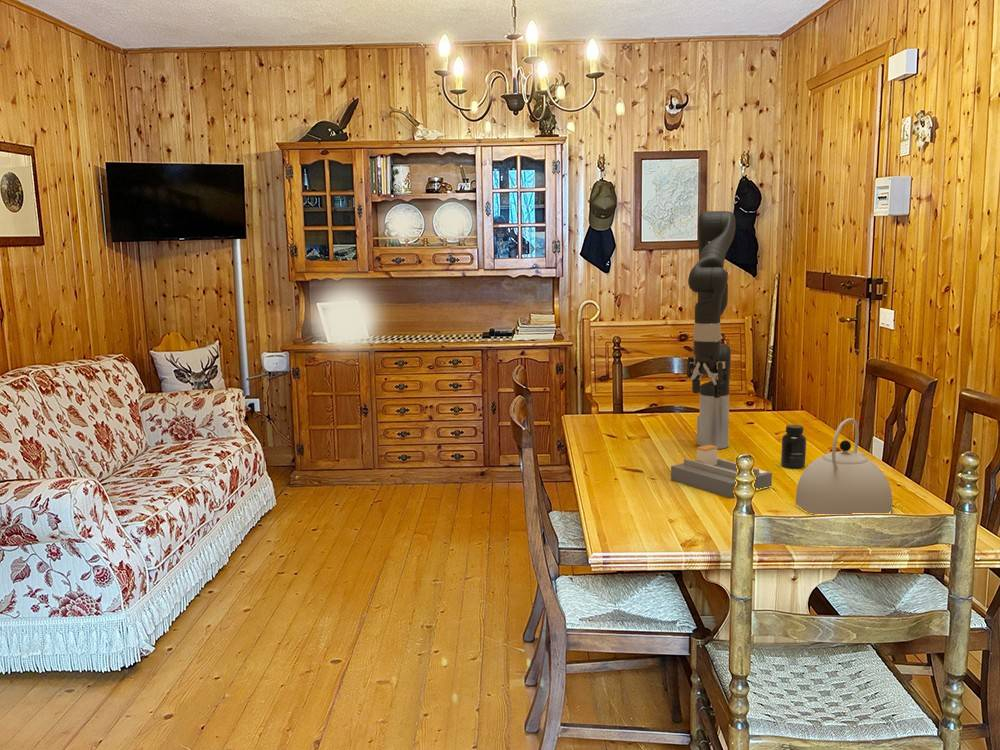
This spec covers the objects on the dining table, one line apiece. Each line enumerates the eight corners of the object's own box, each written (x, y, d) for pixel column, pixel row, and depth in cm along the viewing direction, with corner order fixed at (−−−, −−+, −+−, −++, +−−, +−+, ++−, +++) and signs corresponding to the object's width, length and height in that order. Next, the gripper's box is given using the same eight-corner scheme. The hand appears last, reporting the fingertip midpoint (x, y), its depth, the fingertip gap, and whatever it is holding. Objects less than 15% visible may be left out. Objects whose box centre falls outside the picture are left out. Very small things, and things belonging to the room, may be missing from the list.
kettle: (817, 486, 235) (820, 405, 232) (906, 501, 221) (910, 414, 217) (781, 510, 216) (783, 422, 213) (876, 528, 202) (880, 434, 198)
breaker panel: (671, 479, 245) (671, 460, 244) (710, 469, 253) (710, 451, 252) (731, 498, 227) (731, 477, 226) (771, 487, 235) (772, 467, 234)
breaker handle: (696, 465, 243) (696, 447, 242) (709, 462, 246) (709, 444, 245) (704, 467, 241) (704, 449, 240) (717, 464, 243) (717, 446, 243)
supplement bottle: (795, 470, 251) (796, 429, 249) (776, 465, 256) (777, 425, 254) (810, 466, 254) (811, 426, 252) (791, 461, 260) (792, 422, 258)
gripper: (680, 337, 248) (679, 393, 250) (714, 342, 235) (713, 400, 238) (700, 335, 251) (699, 390, 254) (735, 340, 239) (734, 397, 241)
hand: (706, 395), depth 246 cm, fingers open, 8 cm apart
